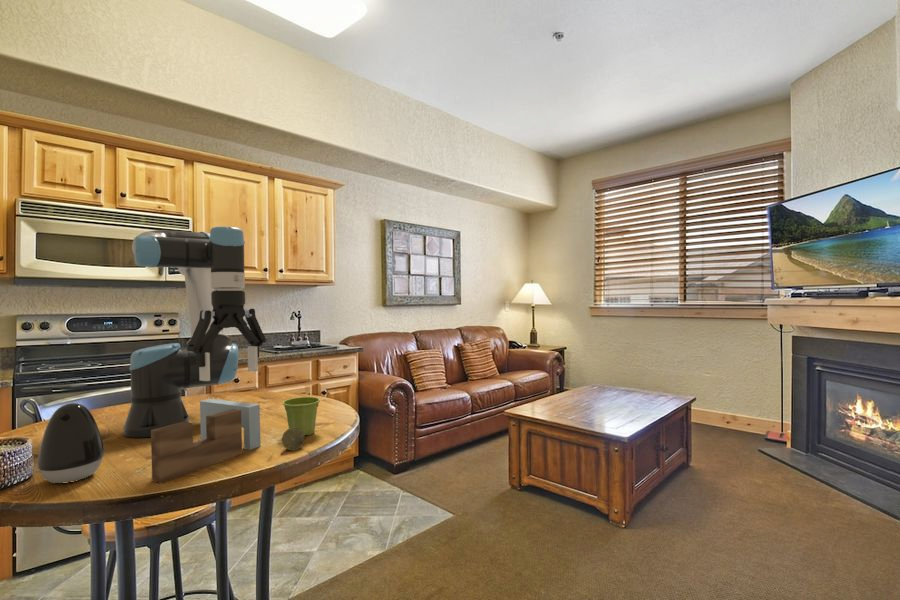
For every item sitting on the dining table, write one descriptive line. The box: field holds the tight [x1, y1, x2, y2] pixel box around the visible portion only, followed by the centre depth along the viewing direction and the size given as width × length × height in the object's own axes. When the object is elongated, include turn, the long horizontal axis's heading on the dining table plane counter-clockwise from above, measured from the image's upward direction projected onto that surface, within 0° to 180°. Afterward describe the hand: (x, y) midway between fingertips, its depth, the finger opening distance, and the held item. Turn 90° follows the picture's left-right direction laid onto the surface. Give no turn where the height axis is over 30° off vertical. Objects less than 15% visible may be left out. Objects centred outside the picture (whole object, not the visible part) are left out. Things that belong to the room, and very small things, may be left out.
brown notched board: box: [150, 409, 243, 484], centre depth 95 cm, size 3×18×10 cm, turn 153°
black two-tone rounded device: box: [37, 402, 105, 484], centre depth 89 cm, size 10×10×15 cm
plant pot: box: [282, 396, 321, 436], centre depth 116 cm, size 9×9×9 cm
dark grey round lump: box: [281, 427, 306, 452], centre depth 104 cm, size 4×5×5 cm
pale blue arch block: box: [199, 398, 262, 451], centre depth 110 cm, size 18×3×10 cm, turn 63°
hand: (230, 375), depth 111 cm, fingers open, 13 cm apart
